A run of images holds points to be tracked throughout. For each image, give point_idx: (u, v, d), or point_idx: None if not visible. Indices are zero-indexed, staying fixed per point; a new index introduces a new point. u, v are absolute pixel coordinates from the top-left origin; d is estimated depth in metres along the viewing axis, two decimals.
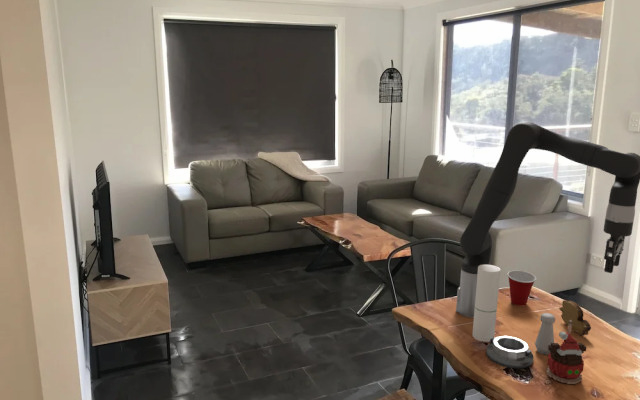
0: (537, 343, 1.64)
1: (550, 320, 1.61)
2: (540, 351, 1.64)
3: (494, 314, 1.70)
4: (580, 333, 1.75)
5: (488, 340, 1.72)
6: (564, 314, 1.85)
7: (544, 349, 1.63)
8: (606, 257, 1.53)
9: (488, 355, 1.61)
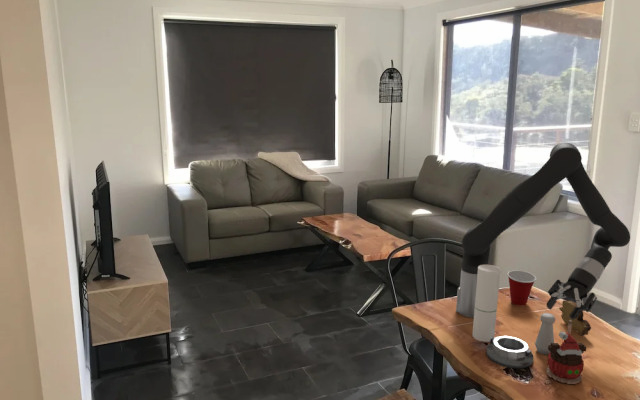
0: (537, 343, 1.64)
1: (550, 320, 1.61)
2: (540, 351, 1.64)
3: (494, 314, 1.70)
4: (580, 333, 1.75)
5: (488, 340, 1.72)
6: (564, 314, 1.85)
7: (544, 349, 1.63)
8: (587, 307, 1.60)
9: (488, 355, 1.61)
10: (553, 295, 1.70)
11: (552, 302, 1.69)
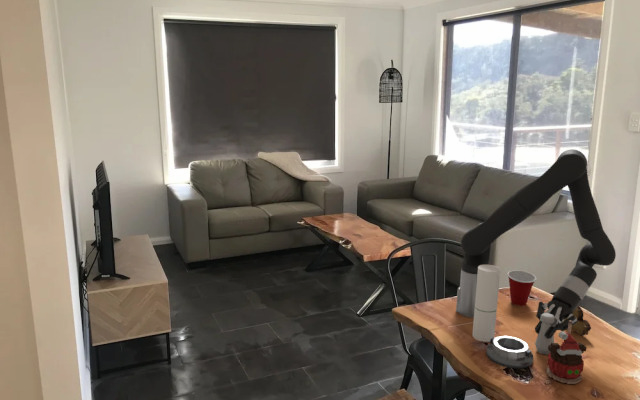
0: (537, 343, 1.64)
1: (550, 320, 1.61)
2: (540, 351, 1.64)
3: (494, 314, 1.70)
4: (580, 333, 1.75)
5: (488, 340, 1.72)
6: None
7: (544, 349, 1.63)
8: (561, 327, 1.60)
9: (488, 355, 1.61)
10: None
11: None
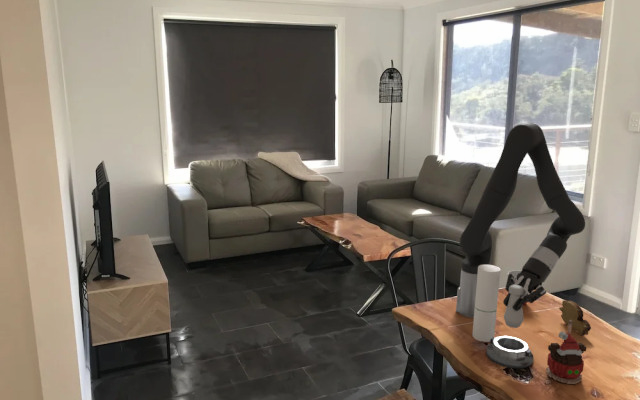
0: (505, 316, 1.59)
1: (518, 292, 1.55)
2: (509, 324, 1.58)
3: (494, 314, 1.70)
4: (580, 333, 1.75)
5: (488, 340, 1.72)
6: (564, 314, 1.85)
7: (512, 322, 1.57)
8: (530, 299, 1.54)
9: (488, 355, 1.61)
10: None
11: None
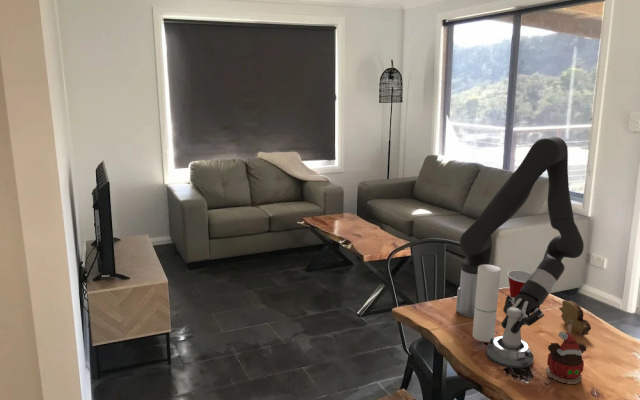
0: (504, 338, 1.60)
1: (516, 315, 1.57)
2: (507, 346, 1.60)
3: (494, 314, 1.70)
4: (580, 333, 1.75)
5: (488, 340, 1.72)
6: (564, 314, 1.85)
7: (510, 345, 1.59)
8: (527, 321, 1.56)
9: (488, 355, 1.61)
10: None
11: None
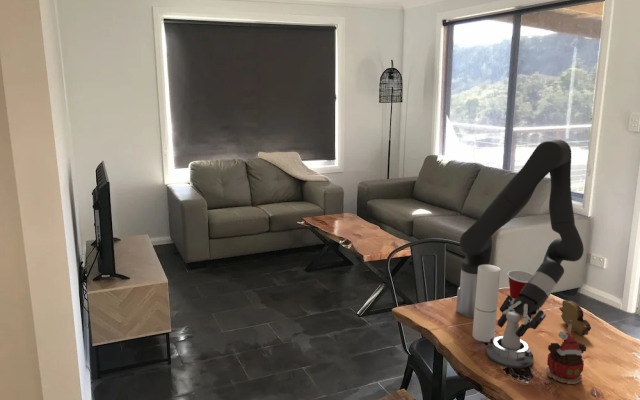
0: (503, 342, 1.62)
1: (515, 319, 1.58)
2: None
3: (494, 314, 1.70)
4: (580, 333, 1.75)
5: (488, 340, 1.72)
6: (564, 314, 1.85)
7: (509, 348, 1.60)
8: (533, 325, 1.55)
9: (488, 355, 1.61)
10: (504, 312, 1.63)
11: (503, 320, 1.63)
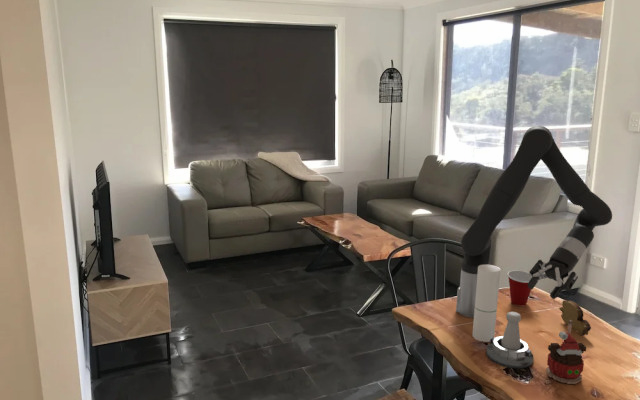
0: (503, 342, 1.62)
1: (516, 319, 1.58)
2: None
3: (494, 314, 1.70)
4: (580, 333, 1.75)
5: (488, 340, 1.72)
6: (564, 314, 1.85)
7: (509, 349, 1.60)
8: (567, 286, 1.58)
9: (488, 355, 1.61)
10: (534, 275, 1.68)
11: (533, 282, 1.67)
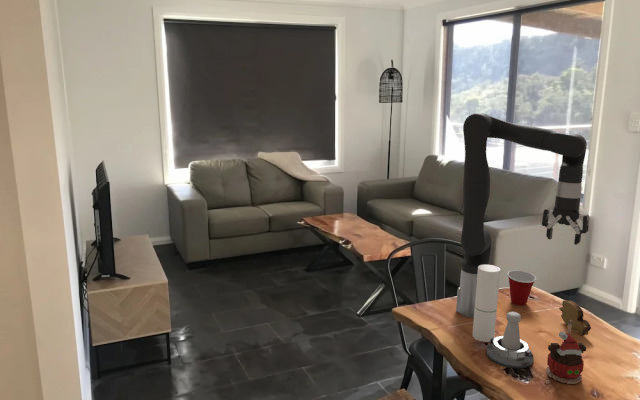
0: (503, 342, 1.62)
1: (516, 319, 1.58)
2: None
3: (494, 314, 1.70)
4: (580, 333, 1.75)
5: (488, 340, 1.72)
6: (564, 314, 1.85)
7: (509, 349, 1.60)
8: None
9: (488, 355, 1.61)
10: (549, 227, 1.74)
11: (551, 233, 1.75)
